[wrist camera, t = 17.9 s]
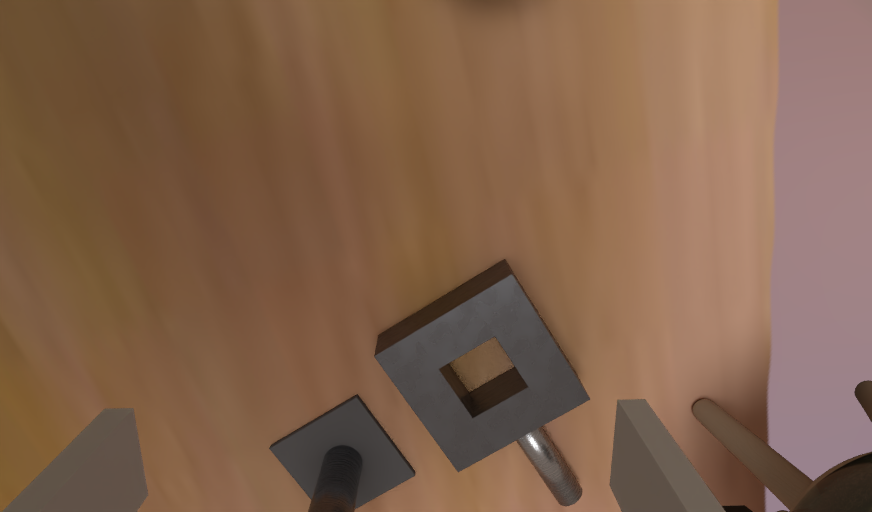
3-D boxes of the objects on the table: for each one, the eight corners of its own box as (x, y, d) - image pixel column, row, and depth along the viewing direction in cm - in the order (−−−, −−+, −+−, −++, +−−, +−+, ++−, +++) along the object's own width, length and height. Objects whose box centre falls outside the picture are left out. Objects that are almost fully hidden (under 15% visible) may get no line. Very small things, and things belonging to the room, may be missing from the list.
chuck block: (378, 334, 47) (374, 356, 43) (504, 259, 46) (512, 274, 42) (508, 516, 52) (514, 550, 48) (626, 453, 50) (643, 483, 47)
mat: (271, 445, 50) (269, 448, 49) (357, 394, 49) (356, 397, 48) (331, 518, 52) (330, 522, 51) (415, 471, 51) (415, 475, 50)
